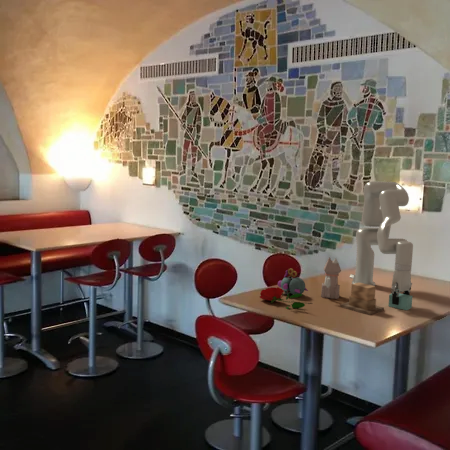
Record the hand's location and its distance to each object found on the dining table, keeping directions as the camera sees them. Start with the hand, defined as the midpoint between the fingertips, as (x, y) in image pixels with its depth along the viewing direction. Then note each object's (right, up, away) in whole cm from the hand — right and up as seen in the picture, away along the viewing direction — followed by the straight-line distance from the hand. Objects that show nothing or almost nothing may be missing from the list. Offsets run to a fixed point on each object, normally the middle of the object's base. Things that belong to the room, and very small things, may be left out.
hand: (400, 302), depth 265 cm
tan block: (-19, +3, -4) cm, 20 cm away
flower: (-55, -2, -3) cm, 55 cm away
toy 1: (-50, +1, +17) cm, 52 cm away
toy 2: (-31, 0, +14) cm, 34 cm away
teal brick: (0, -2, +1) cm, 2 cm away
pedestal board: (-19, -2, -4) cm, 20 cm away
